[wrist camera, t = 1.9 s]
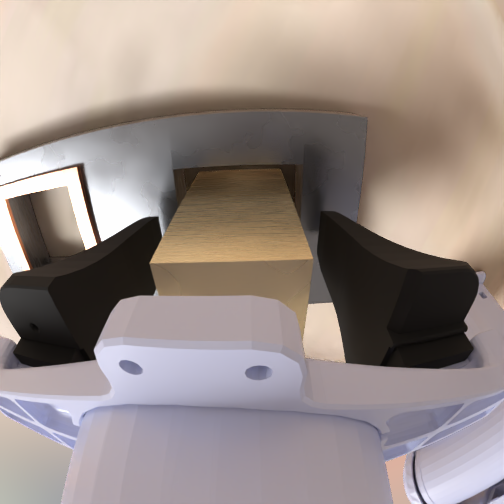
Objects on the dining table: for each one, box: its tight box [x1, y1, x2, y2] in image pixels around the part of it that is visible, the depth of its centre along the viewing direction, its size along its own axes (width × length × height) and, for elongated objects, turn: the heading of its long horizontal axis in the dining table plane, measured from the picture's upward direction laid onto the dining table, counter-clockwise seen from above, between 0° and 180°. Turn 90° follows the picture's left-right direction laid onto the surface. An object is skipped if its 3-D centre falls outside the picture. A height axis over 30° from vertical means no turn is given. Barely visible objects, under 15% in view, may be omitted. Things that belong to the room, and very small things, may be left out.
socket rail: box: [0, 109, 367, 304], centre depth 14 cm, size 22×10×2 cm, turn 91°
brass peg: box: [150, 169, 313, 341], centre depth 11 cm, size 4×4×8 cm
